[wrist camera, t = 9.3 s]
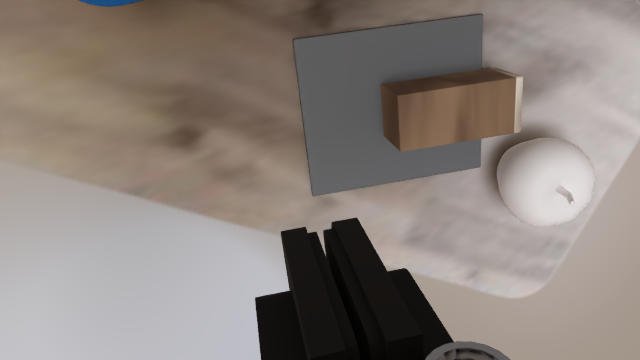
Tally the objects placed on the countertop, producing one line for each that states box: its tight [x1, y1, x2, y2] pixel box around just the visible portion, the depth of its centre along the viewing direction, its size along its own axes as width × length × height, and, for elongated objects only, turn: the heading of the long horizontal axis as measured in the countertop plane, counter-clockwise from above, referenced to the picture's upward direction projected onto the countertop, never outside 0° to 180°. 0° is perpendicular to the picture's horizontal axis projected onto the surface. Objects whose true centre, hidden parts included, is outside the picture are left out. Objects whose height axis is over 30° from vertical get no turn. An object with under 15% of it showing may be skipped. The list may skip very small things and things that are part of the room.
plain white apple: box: [497, 138, 595, 227], centre depth 39 cm, size 7×7×8 cm
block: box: [381, 67, 523, 152], centre depth 37 cm, size 4×4×9 cm
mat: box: [293, 14, 483, 196], centre depth 38 cm, size 14×12×1 cm
